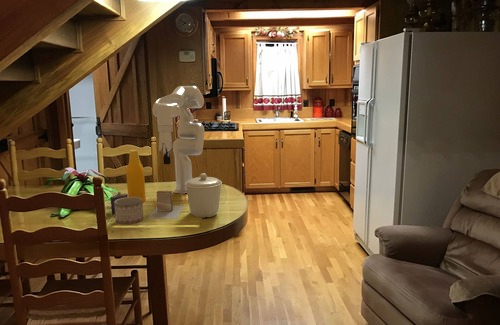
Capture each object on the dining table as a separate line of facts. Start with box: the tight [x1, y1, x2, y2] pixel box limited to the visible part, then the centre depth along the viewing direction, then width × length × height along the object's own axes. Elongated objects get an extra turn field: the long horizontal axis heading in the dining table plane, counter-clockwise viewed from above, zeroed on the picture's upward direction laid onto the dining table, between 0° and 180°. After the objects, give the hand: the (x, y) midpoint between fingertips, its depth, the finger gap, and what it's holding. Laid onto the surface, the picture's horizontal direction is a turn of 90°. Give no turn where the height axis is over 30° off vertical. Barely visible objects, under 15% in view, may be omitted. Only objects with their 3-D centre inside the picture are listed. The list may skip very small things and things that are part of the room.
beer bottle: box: [125, 149, 147, 203], centre depth 217 cm, size 9×9×29 cm
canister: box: [185, 172, 223, 219], centre depth 197 cm, size 18×18×21 cm
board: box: [147, 205, 184, 220], centre depth 201 cm, size 20×14×1 cm
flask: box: [109, 191, 128, 215], centre depth 203 cm, size 9×3×11 cm, turn 138°
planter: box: [114, 197, 145, 225], centre depth 190 cm, size 13×13×10 cm
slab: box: [156, 190, 174, 212], centre depth 202 cm, size 3×7×10 cm, turn 90°
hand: (167, 163), depth 208 cm, fingers closed
